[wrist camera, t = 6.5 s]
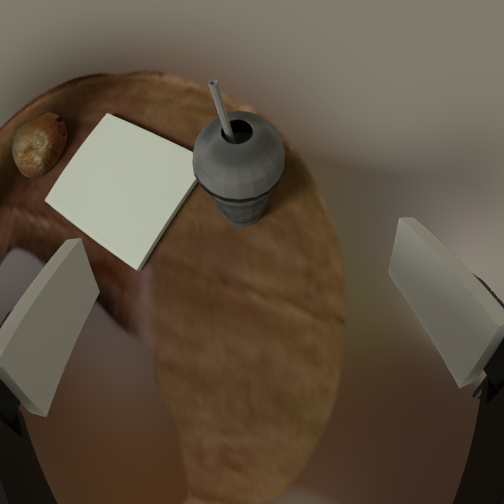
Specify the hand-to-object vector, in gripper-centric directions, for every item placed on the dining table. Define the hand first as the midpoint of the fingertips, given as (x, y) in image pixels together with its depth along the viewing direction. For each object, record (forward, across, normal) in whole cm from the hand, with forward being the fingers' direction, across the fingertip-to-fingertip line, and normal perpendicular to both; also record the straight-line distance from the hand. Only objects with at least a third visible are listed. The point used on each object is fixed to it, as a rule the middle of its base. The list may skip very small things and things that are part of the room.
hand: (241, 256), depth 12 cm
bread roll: (+31, -30, +2) cm, 43 cm away
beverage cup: (+22, 0, -7) cm, 23 cm away
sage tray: (+25, -15, -4) cm, 29 cm away
